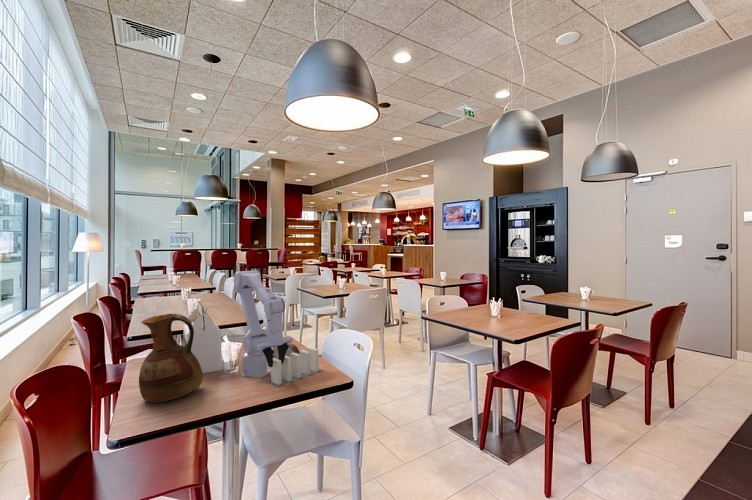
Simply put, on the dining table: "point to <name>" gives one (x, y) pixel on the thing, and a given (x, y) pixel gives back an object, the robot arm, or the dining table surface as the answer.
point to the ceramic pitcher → (168, 362)
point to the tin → (291, 349)
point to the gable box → (205, 340)
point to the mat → (294, 378)
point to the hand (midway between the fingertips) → (275, 364)
